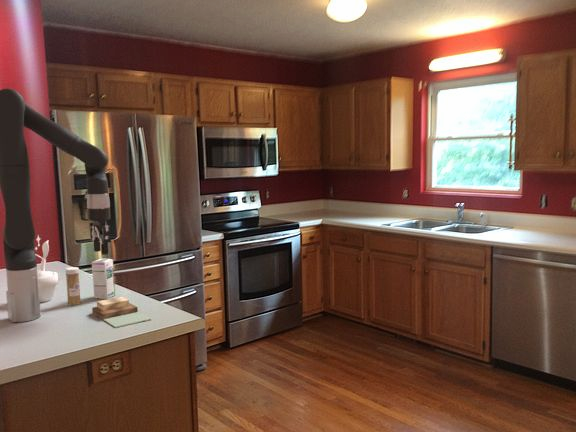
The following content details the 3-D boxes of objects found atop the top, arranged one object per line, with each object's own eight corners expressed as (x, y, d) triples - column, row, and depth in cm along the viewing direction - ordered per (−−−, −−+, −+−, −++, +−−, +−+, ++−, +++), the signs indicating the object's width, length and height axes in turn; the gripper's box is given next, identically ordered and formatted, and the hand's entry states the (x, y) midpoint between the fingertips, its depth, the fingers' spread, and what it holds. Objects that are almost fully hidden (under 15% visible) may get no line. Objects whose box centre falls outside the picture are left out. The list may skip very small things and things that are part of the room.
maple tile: (103, 310, 178) (103, 305, 178) (97, 307, 183) (96, 301, 182) (129, 305, 184) (128, 300, 183) (122, 302, 188) (121, 296, 188)
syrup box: (107, 299, 200) (105, 261, 198) (93, 298, 201) (91, 261, 199) (115, 295, 205) (113, 258, 203) (101, 294, 206) (99, 258, 205)
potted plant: (52, 294, 207) (47, 231, 204) (64, 300, 199) (59, 234, 196) (18, 301, 198) (12, 235, 195) (29, 307, 190) (23, 238, 187)
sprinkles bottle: (75, 306, 191) (72, 269, 189) (64, 305, 192) (62, 269, 191) (83, 302, 195) (81, 267, 194) (73, 301, 197) (71, 266, 195)
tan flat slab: (103, 320, 175) (102, 314, 174) (92, 313, 182) (92, 307, 182) (137, 312, 182) (137, 307, 182) (126, 306, 190) (125, 301, 190)
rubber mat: (115, 327, 167) (115, 326, 166) (103, 320, 174) (103, 319, 174) (151, 319, 174) (150, 318, 174) (138, 313, 182) (138, 311, 182)
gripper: (80, 205, 189) (83, 251, 191) (95, 208, 178) (97, 257, 180) (101, 204, 193) (104, 248, 195) (117, 207, 182) (119, 254, 184)
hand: (101, 252), depth 187 cm, fingers open, 7 cm apart
